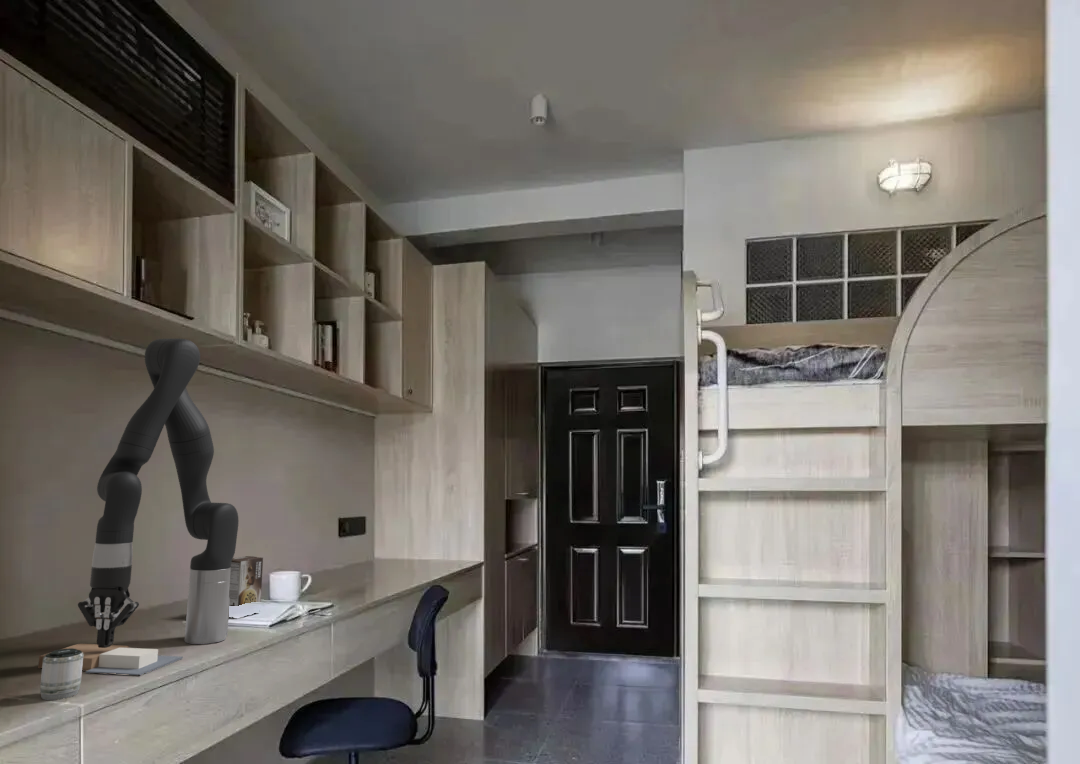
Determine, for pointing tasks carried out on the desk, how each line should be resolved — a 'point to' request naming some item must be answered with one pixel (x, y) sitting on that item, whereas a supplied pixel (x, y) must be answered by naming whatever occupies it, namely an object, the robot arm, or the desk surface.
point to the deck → (88, 654)
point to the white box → (128, 658)
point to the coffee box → (245, 580)
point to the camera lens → (61, 674)
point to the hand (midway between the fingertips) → (104, 646)
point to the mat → (160, 662)
